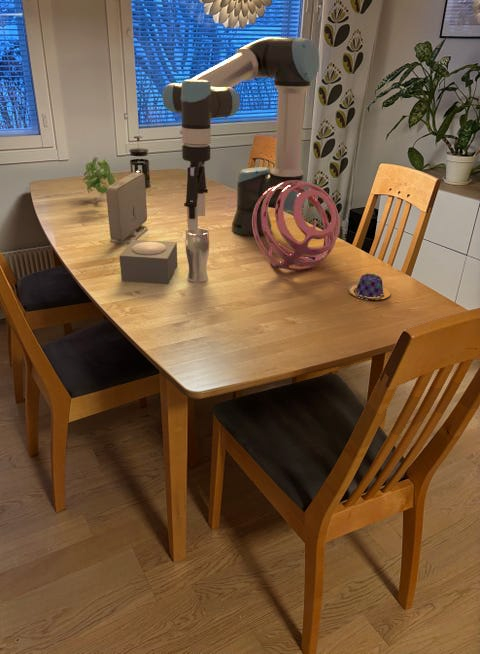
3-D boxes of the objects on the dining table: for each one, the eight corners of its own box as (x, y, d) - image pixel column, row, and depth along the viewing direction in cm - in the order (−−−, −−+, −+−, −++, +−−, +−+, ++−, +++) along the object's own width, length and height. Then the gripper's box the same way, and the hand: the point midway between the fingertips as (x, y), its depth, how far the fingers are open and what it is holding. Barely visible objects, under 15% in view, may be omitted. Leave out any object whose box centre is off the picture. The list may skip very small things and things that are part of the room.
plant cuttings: (114, 207, 242) (71, 180, 230) (134, 177, 238) (92, 147, 227) (122, 230, 213) (74, 200, 201) (145, 196, 209) (97, 164, 198)
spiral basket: (235, 191, 170) (276, 156, 146) (307, 206, 182) (356, 176, 158) (235, 274, 166) (277, 252, 142) (308, 283, 178) (358, 264, 154)
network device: (127, 247, 177) (122, 189, 167) (103, 245, 178) (97, 187, 168) (153, 225, 199) (150, 172, 189) (131, 223, 200) (127, 171, 190)
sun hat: (368, 306, 143) (370, 288, 141) (339, 289, 152) (341, 273, 149) (398, 297, 149) (402, 280, 146) (369, 282, 158) (372, 266, 155)
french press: (127, 184, 253) (123, 135, 242) (145, 182, 258) (142, 134, 246) (137, 189, 244) (134, 139, 233) (155, 187, 249) (153, 137, 238)
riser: (177, 266, 163) (176, 240, 159) (168, 284, 151) (167, 257, 147) (134, 263, 164) (132, 238, 160) (121, 281, 152) (119, 254, 148)
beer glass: (209, 274, 158) (209, 227, 151) (209, 283, 152) (209, 235, 145) (186, 274, 158) (185, 227, 151) (185, 283, 152) (184, 234, 145)
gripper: (190, 136, 147) (191, 209, 157) (172, 151, 125) (175, 235, 136) (216, 138, 147) (215, 211, 157) (203, 153, 125) (203, 237, 135)
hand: (196, 222), depth 146 cm, fingers open, 13 cm apart
